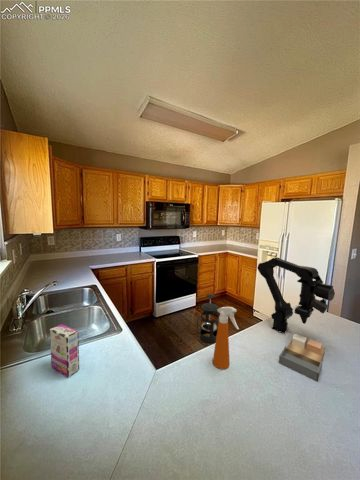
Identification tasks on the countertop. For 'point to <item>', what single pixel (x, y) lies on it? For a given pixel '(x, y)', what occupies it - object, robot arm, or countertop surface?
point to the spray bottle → (223, 338)
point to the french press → (208, 322)
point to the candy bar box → (64, 350)
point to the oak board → (305, 354)
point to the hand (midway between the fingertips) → (304, 322)
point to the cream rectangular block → (299, 341)
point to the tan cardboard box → (314, 346)
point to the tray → (300, 365)
